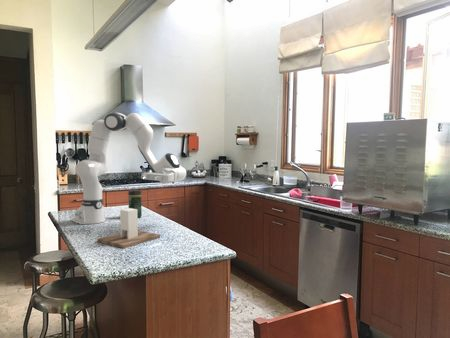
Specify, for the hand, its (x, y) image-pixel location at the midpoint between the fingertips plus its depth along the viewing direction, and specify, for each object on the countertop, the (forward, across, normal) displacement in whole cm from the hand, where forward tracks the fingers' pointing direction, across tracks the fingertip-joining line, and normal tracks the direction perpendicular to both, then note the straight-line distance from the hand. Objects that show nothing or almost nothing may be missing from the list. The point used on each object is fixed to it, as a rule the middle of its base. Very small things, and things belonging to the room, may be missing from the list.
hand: (147, 177), depth 204 cm
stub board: (+18, +5, +30) cm, 35 cm away
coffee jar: (-22, -35, +30) cm, 51 cm away
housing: (+18, +5, +28) cm, 34 cm away
